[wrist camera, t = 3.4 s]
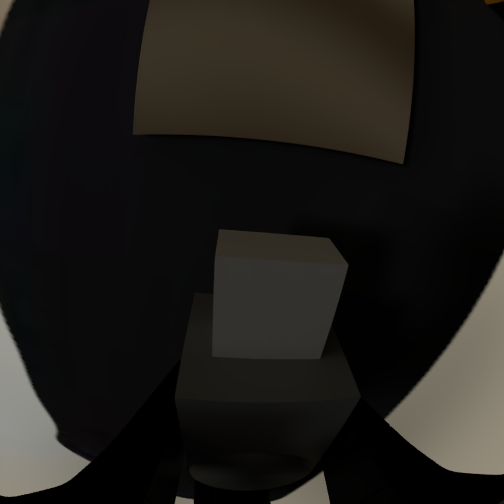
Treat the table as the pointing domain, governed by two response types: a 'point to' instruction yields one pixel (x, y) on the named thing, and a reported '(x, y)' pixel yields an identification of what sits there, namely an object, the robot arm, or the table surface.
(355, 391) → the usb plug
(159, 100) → the trivet
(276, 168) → the table surface
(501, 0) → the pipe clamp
